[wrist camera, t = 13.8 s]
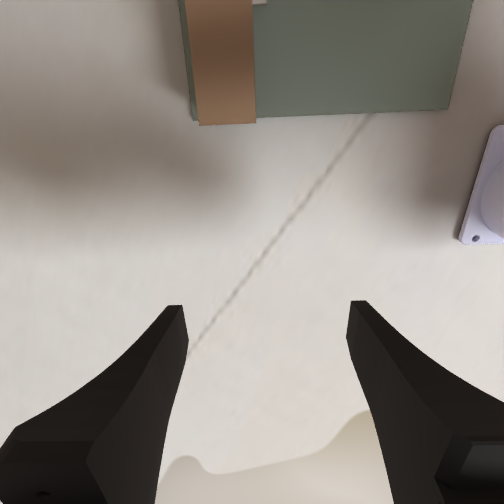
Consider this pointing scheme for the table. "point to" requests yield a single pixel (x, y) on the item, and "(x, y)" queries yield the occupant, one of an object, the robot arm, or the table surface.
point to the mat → (351, 55)
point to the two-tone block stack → (223, 59)
